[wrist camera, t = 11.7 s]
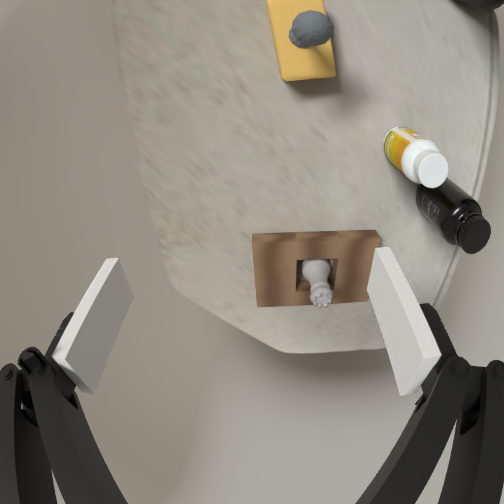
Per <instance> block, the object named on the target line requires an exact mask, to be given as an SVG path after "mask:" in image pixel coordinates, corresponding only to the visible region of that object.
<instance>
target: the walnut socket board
mask: <svg viewBox="0 0 504 504" xmlns="http://www.w3.org/2000/svg"><path fill="white" fill-rule="evenodd" d="M380 241H381V239H380V237H379V235H378V234H377V232H376V230H356V231H321V232H291V233H264V234H253V237H252V248H253V261H254V273H255V286H256V298H257V307H273V306H298V305H314V303H312V302H311V300H310V295H311V292H310V288H311V285H310V282H309V281H296V264H297V260H312V259H334V262H333V271H332V279H329V280H327V282H328V284H329V285H330V289H331V290H332V292H333V298H332V302H331V304H334V303H349V302H363V301H367V299H368V292H367V286H368V281H369V277H370V272H371V267H372V262H373V257H374V252H375V248H379V246H380ZM328 304H329V303H328Z"/></svg>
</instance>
